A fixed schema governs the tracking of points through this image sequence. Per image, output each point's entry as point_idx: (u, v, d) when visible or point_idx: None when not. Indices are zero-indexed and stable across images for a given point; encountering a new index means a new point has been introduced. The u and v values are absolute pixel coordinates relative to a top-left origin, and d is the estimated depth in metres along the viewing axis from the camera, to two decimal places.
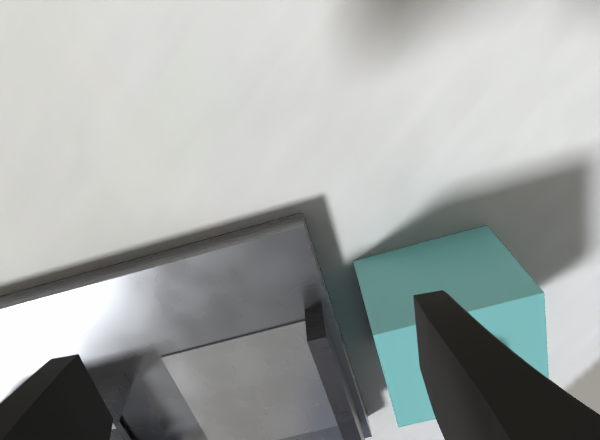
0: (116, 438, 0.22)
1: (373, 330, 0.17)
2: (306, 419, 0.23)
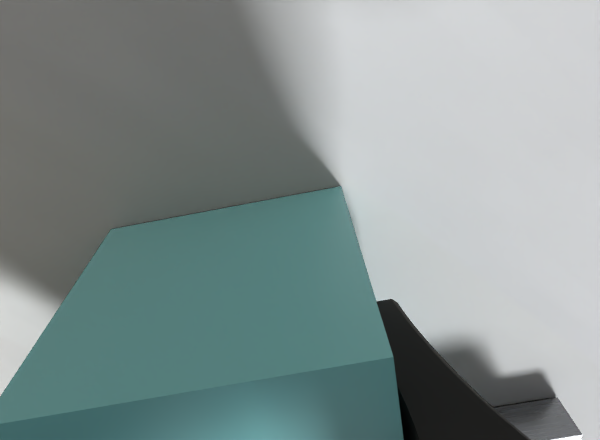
0: None
1: None
2: None
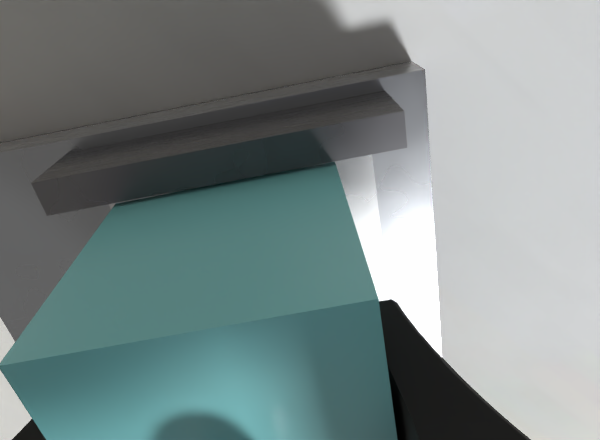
0: None
1: None
2: None
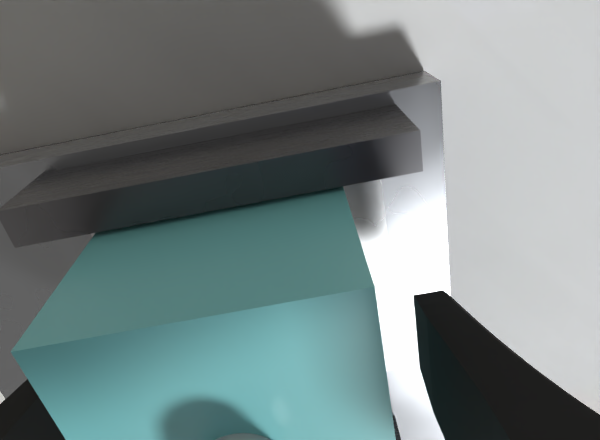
0: None
1: None
2: None
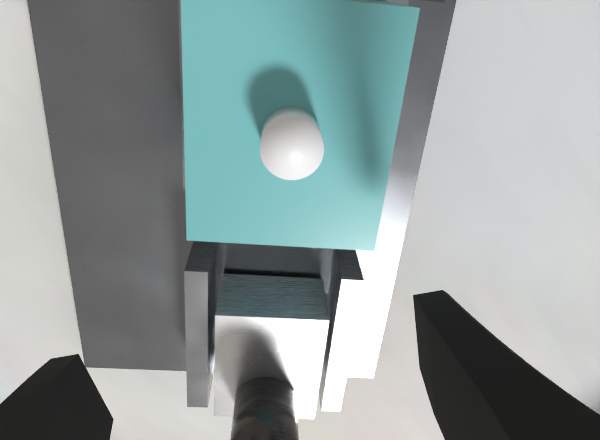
0: (268, 287, 0.18)
1: None
2: None
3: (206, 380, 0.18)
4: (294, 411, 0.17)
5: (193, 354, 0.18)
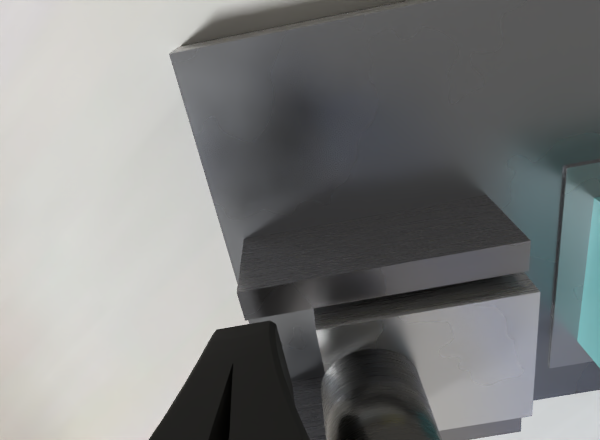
0: None
1: None
2: None
3: (308, 308, 0.11)
4: None
5: (362, 280, 0.10)
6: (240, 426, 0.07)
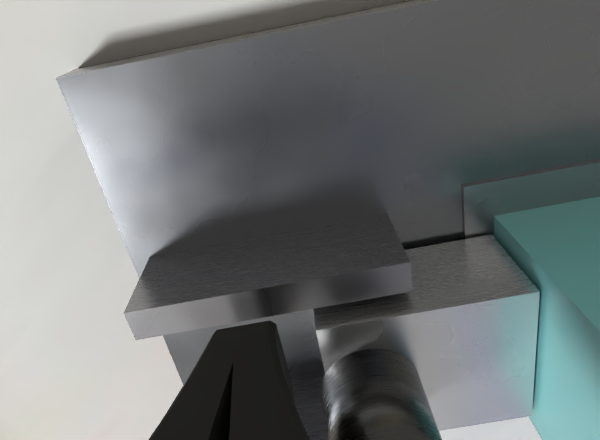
0: None
1: None
2: None
3: (197, 327, 0.11)
4: None
5: (247, 301, 0.11)
6: (240, 426, 0.07)
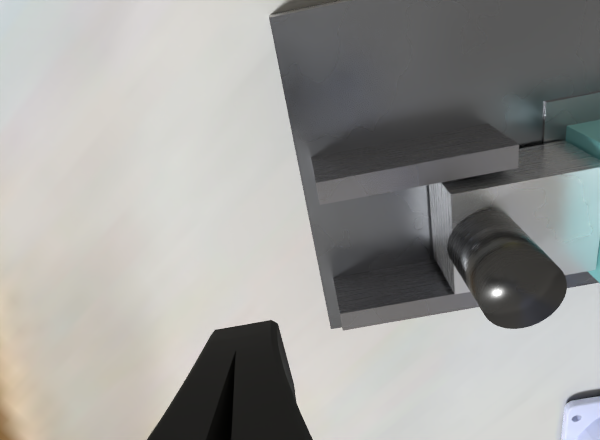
0: None
1: None
2: None
3: (364, 195, 0.15)
4: None
5: (402, 174, 0.15)
6: (242, 426, 0.07)
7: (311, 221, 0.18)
